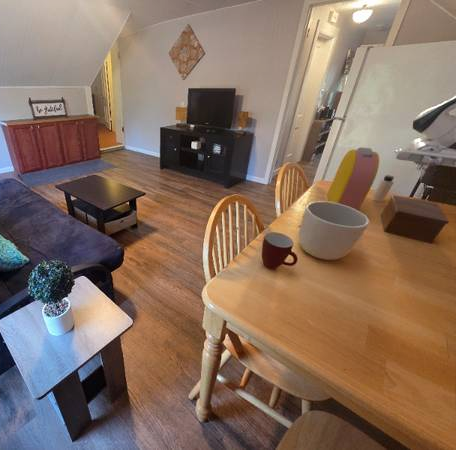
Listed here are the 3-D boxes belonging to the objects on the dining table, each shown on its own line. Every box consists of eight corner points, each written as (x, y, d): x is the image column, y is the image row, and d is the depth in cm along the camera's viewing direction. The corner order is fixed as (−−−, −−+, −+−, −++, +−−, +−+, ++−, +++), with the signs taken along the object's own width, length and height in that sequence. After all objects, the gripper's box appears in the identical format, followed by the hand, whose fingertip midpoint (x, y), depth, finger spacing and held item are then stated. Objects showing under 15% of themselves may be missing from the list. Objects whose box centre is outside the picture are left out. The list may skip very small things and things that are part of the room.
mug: (294, 265, 78) (304, 240, 73) (290, 280, 73) (300, 254, 67) (260, 253, 83) (268, 229, 78) (254, 266, 78) (261, 241, 72)
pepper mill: (381, 198, 121) (393, 175, 115) (385, 202, 118) (398, 178, 111) (369, 196, 123) (381, 174, 116) (373, 200, 119) (385, 177, 113)
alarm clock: (356, 216, 106) (387, 156, 92) (331, 212, 109) (358, 153, 95) (348, 197, 122) (373, 143, 108) (327, 194, 125) (349, 141, 111)
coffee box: (431, 243, 89) (446, 223, 85) (384, 231, 96) (396, 212, 91) (422, 224, 100) (435, 205, 95) (380, 215, 107) (391, 197, 102)
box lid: (447, 224, 84) (448, 221, 83) (396, 213, 90) (397, 211, 90) (435, 205, 95) (436, 203, 95) (391, 197, 102) (392, 195, 101)
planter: (347, 274, 75) (371, 234, 67) (288, 254, 83) (302, 216, 75) (348, 247, 87) (368, 210, 79) (296, 232, 95) (309, 196, 87)
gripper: (398, 142, 105) (403, 149, 96) (465, 150, 96) (479, 158, 86) (390, 157, 109) (394, 165, 99) (455, 165, 99) (466, 175, 89)
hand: (434, 162), depth 92 cm, fingers closed
